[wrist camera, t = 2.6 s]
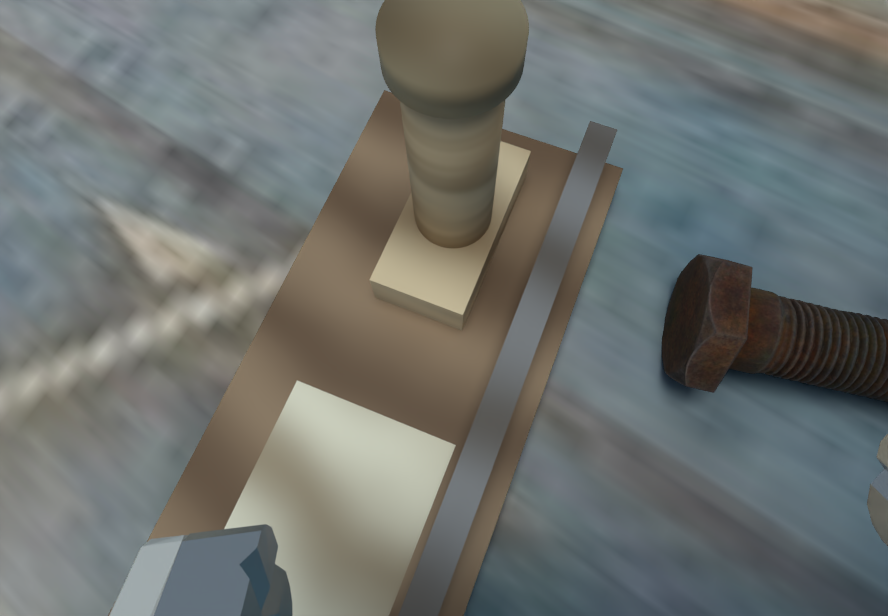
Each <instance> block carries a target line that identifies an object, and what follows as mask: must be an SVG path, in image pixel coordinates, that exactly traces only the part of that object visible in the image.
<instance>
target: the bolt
mask: <svg viewBox="0 0 888 616" xmlns="http://www.w3.org/2000/svg"><path fill="white" fill-rule="evenodd" d="M751 281H752V267H750V266H746V265H743V264H739V263H736V262H732V261H728V260H724V259H719V258H715V257H710V256H705V255H700V254H698V255H697V256H696V257H695V258H694V259H692V260H691V261H690V262H689V263H688V265H687V266H686V267H685V268H684V270H683V271H682V272H681V274H680V275H679V277H678V279H677V282H676V285H675V288H674V291H673V294H672V297H671V299H670V302H669V305H668V309H667V313H666V317H665V324H664V331H663V337H662V359H663V365H664V371H665V372H666V374H667V375H668V376H669V377H671V378H672V379H674V380H675V381H677V382H679V383H681V384H683V385H685V386H687V387H692V388H696V389H700V390H704V391H708V392H713V393H714V392H715V390H716V389H717V387H718V385H719V384H720V382H721V381H722V379H723V377H724V376H725V374H726V373H727V371H728V369H733V370H737V371H742V372H746V373H751V374H755V373H764V374H766V375H772V376H774V377H781V378H783V379H789V380H793V381H799V382H801V383H806V384H810V385H815V386H818V387H824V388H827V389H833V390H836V391H842V392H845V393H847V392H848V393H850V394H856V395H858V396H866V397H868V398H873V399H877V400H882V401H885V402H888V320H887V319H880V318H878V317H871V316H869V315H862V314H860V313H856V314H855V313H853V312H846V311H838V310H836V309H830V308H828V307H822V306H820V305H814V304H812V303H806V302H803V301H800V300H794V299H788V298H786V297H781V296H778V295H776V294H775V293H773V292H769V291H764V290H760V289H756V288H751Z"/></svg>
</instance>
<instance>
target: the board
mask: <svg viewBox="0 0 888 616" xmlns="http://www.w3.org/2000/svg"><path fill="white" fill-rule="evenodd" d="M616 132H617V129H614V128H610V127H607V126H604V125H601V124H598V123H595V122H592V121H590V123H589V125H588V128H587V131H586V133H585V136H584V138H583V141H582V143H581V146H580V149H579V151H578V154H577V153H574V152H571V151H568V150H565V149H562V148H559V147H556V146H553V145H550V144H546V143H543V142H540V141H537V140H534V139H531V138H528V137H525V136H522V135H519V134H516V133H513V132H510V131H507V130H504V129H502V133H501V141H502V142H505V143H508V144H511V145H514V146H517V147H520V148H523V149H526V150H529V151H531V154H530V159H529V164H528V169H527V175H526V178H525V180H524V183H523V185H522V187H521V190H520V192H519V195H518V197H517V200H516V202H515V204H514V207H513V209H512V212H511V214H510V216H509V219H508V221H507V224H506V226H505V228H504V231H503V233H502V236H501V238H500V241H499V243H498V245H497V248H496V250H495V253H494V255H493V257H492V260H491V262H490V265H489V267H488V270H487V272H486V274H485V277H484V279H483V282H482V284H481V286H480V289H479V291H478V294H477V296H476V299H475V301H474V303H473V306H472V308H471V311H470V313H469V315H468V318H467V320H466V323H465V325H464V328H463V330H459V329H457V328H454V327H451V326H449V325H446V324H443V323H441V322H438V321H436V320H433V319H430V318H428V317H425V316H422V315H420V314H417V313H414V312H412V311H409V310H407V309H404V308H401V307H399V306H396V305H393V304H391V303H388V302H385V301H383V300H380V299H378V298H375V295H374V292H373V289H372V286H371V283H370V278H371V275H372V273H373V271H374V269H375V267H376V265H377V263H378V261H379V259H380V257H381V255H382V252H383V250H384V248H385V246H386V244H387V242H388V240H389V238H390V236H391V234H392V232H393V229H394V227H395V225H396V223H397V221H398V219H399V217H400V215H401V213H402V211H403V209H404V207H405V204H406V202H407V200H408V198H409V196H410V194H411V184H410V177H409V169H408V161H407V153H406V145H405V138H404V130H403V122H402V114H401V106H400V100H398V99H397V98H396V97H395V96H394V94H393V93H391V92H388V91H385V90H384V92H383V94H382V96H381V98H380V100H379V102H378V104H377V106H376V107H375V109H374V111H373V113H372V115H371V117H370V119H369V121H368V123H367V125H366V126H365V128H364V130H363V132H362V134H361V136H360V138H359V140H358V142H357V144H356V145H355V147H354V149H353V151H352V153H351V155H350V157H349V159H348V161H347V163H346V164H345V166H344V168H343V170H342V172H341V174H340V176H339V178H338V180H337V182H336V183H335V185H334V187H333V189H332V191H331V193H330V195H329V197H328V199H327V201H326V202H325V204H324V206H323V208H322V210H321V212H320V214H319V216H318V218H317V220H316V221H315V223H314V225H313V227H312V229H311V231H310V233H309V235H308V237H307V239H306V240H305V242H304V244H303V246H302V248H301V250H300V252H299V254H298V256H297V258H296V259H295V261H294V263H293V265H292V267H291V269H290V271H289V273H288V275H287V277H286V278H285V280H284V282H283V284H282V286H281V288H280V290H279V292H278V294H277V296H276V297H275V299H274V301H273V303H272V305H271V307H270V309H269V311H268V313H267V315H266V316H265V318H264V320H263V322H262V324H261V326H260V328H259V330H258V332H257V334H256V335H255V337H254V339H253V341H252V343H251V345H250V347H249V349H248V351H247V353H246V354H245V356H244V358H243V360H242V362H241V364H240V366H239V368H238V370H237V372H236V373H235V375H234V377H233V379H232V381H231V383H230V385H229V387H228V389H227V391H226V392H225V394H224V396H223V398H222V400H221V402H220V404H219V406H218V408H217V410H216V411H215V413H214V415H213V417H212V419H211V421H210V423H209V425H208V427H207V429H206V430H205V432H204V434H203V436H202V438H201V440H200V442H199V444H198V446H197V448H196V449H195V451H194V453H193V455H192V457H191V459H190V461H189V463H188V465H187V467H186V468H185V470H184V472H183V474H182V476H181V478H180V480H179V482H178V484H177V486H176V487H175V489H174V491H173V493H172V495H171V497H170V499H169V501H168V503H167V504H166V506H165V508H164V510H163V512H162V514H161V516H160V518H159V520H158V522H157V523H156V525H155V527H154V529H153V531H152V533H151V535H150V537H149V539H148V541H149V540H150V539H155V538H164V537H172V536H180V535H189V534H190V533H198V532H206V531H214V530H222V529H230V528H238V527H247V526H255V525H263V524H267V525H269V526H271V527H272V529H273V532H274V535H275V538H276V541H277V544H278V550H277V555H276V560H275V564H276V565H278V566H279V567H280V568H282V569H283V570H285V571H286V574H287V577H288V581H289V584H290V590H291V596H292V616H463V615H464V612H465V610H466V607H467V604H468V601H469V598H470V596H471V593H472V590H473V587H474V584H475V582H476V579H477V576H478V573H479V570H480V568H481V565H482V562H483V559H484V556H485V554H486V551H487V548H488V545H489V542H490V540H491V537H492V534H493V531H494V528H495V526H496V523H497V520H498V517H499V514H500V512H501V509H502V506H503V503H504V500H505V498H506V495H507V492H508V489H509V486H510V484H511V481H512V478H513V475H514V472H515V470H516V467H517V464H518V461H519V458H520V456H521V453H522V450H523V447H524V445H525V442H526V439H527V436H528V433H529V431H530V428H531V425H532V422H533V419H534V417H535V414H536V411H537V408H538V405H539V403H540V400H541V397H542V394H543V391H544V389H545V386H546V383H547V380H548V377H549V375H550V372H551V369H552V366H553V363H554V361H555V358H556V355H557V352H558V349H559V347H560V344H561V341H562V338H563V335H564V333H565V330H566V327H567V324H568V321H569V319H570V316H571V313H572V310H573V307H574V305H575V302H576V299H577V296H578V293H579V291H580V288H581V285H582V282H583V279H584V277H585V274H586V271H587V268H588V265H589V263H590V260H591V257H592V254H593V251H594V249H595V246H596V243H597V240H598V237H599V235H600V232H601V229H602V226H603V223H604V221H605V218H606V215H607V212H608V209H609V207H610V204H611V201H612V198H613V195H614V193H615V190H616V187H617V184H618V181H619V179H620V176H621V173H622V170H623V168H620V167H617V166H614V165H611V164H607V163H605V162H606V159H607V156H608V154H609V151H610V148H611V146H612V143H613V140H614V137H615V135H616ZM148 541H147V542H148ZM116 600H117V599H116ZM115 602H116V601H115ZM114 604H115V603H114ZM113 606H114V605H113ZM112 608H113V607H112ZM111 610H112V609H111ZM110 613H111V611H110ZM110 613H109V615H110ZM109 615H108V616H109Z"/></svg>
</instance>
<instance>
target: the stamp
mask: <svg viewBox="0 0 888 616" xmlns="http://www.w3.org/2000/svg"><path fill="white" fill-rule="evenodd" d="M528 34H529V23H528V17H527V13H526V10H525V8H524V6H523V4H522V2H521V1H520V0H385V1H384V3H383V4H382V6H381V8H380V10H379V13H378V16H377V20H376V39H377V45H378V52H379V58H380V64H381V70H382V74H383V77H384V80H385V82H386V84H387V86H388V88H389V89H390V91H391V92H392V93H393V94H394V96H395V97H396V98H397V99H398V100H400V106H401V114H402V122H403V130H404V138H405V145H406V153H407V161H408V169H409V177H410V184H411V194H410V196H409V198H408V200H407V202H406V204H405V207H404V209H403V211H402V213H401V215H400V217H399V219H398V221H397V223H396V225H395V227H394V229H393V232H392V234H391V236H390V238H389V240H388V242H387V244H386V246H385V248H384V250H383V252H382V255H381V257H380V259H379V261H378V263H377V265H376V267H375V269H374V271H373V273H372V275H371V278H370V283H371V286H372V289H373V292H374V295H375V298H378V299H380V300H383V301H385V302H388V303H391V304H393V305H396V306H399V307H401V308H404V309H407V310H409V311H412V312H414V313H417V314H420V315H422V316H425V317H428V318H430V319H433V320H436V321H438V322H441V323H443V324H446V325H449V326H451V327H454V328H457V329H459V330H463V328H464V325H465V323H466V320H467V318H468V315H469V313H470V311H471V308H472V306H473V303H474V301H475V299H476V296H477V294H478V291H479V289H480V286H481V284H482V282H483V279H484V277H485V274H486V272H487V270H488V267H489V265H490V262H491V260H492V257H493V255H494V253H495V250H496V248H497V245H498V243H499V241H500V238H501V236H502V233H503V231H504V228H505V226H506V224H507V221H508V219H509V216H510V214H511V212H512V209H513V207H514V204H515V202H516V200H517V197H518V195H519V192H520V190H521V187H522V185H523V183H524V180H525V178H526V175H527V169H528V164H529V159H530V154H531V151H529V150H526V149H523V148H520V147H517V146H514V145H511V144H508V143H505V142H502V141H501V133H502V124H503V116H504V107H505V99H506V98H507V97H508V96H509V95H510V94H511V93H512V92H513V91H514V89H515V88H516V86H517V85H518V83H519V81H520V78H521V76H522V73H523V67H524V61H525V54H526V47H527V41H528Z"/></svg>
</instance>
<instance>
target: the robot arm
mask: <svg viewBox="0 0 888 616" xmlns="http://www.w3.org/2000/svg"><path fill="white" fill-rule="evenodd" d="M877 459H878V460H879V462H880V463H881V464H882V466H883V467H884V470H883V471H882V472H881V473H880V474H879V475H878V476H877V477H876V478H875V480H874V481H873V482H872V483H871V484H870V489H869V495H868V501H867V505H868V509H869V513H870V517H871V521H872V524H873V526H874V528H875V529H876V531H877V533H878V534H879V536H880V538H881V539H882V541H883V542H884V543H885V544H886V545H887V546H888V434H887V435H886V436H885V437H884V438H883V440H882V441H881V442H880V446H879V450H878V454H877ZM277 550H278V544H277V541H276V538H275V535H274V532H273V529H272V527H271V526H269V525H267V524H263V525H255V526H247V527H238V528H230V529H222V530H214V531H206V532H198V533H190V534H189V535H180V536H172V537H164V538H155V539H150V540H149V541H148V542H146V543H145V544H144V545H143V546H142V547H141V548H140V550H139V552H138V554H137V556H136V559H135V561H134V563H133V565H132V567H131V569H130V572H129V574H128V576H127V578H126V580H125V582H124V585H123V587H122V589H121V591H120V593H119V595H118V597H117V600H116V602H115V604H114V606H113V608H112V610H111V613H110V615H109V616H292V596H291V590H290V584H289V581H288V577H287V574H286V571H285V570H283V569H282V568H280V567H279V566H278V565H276V564H275V560H276V555H277Z"/></svg>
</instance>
